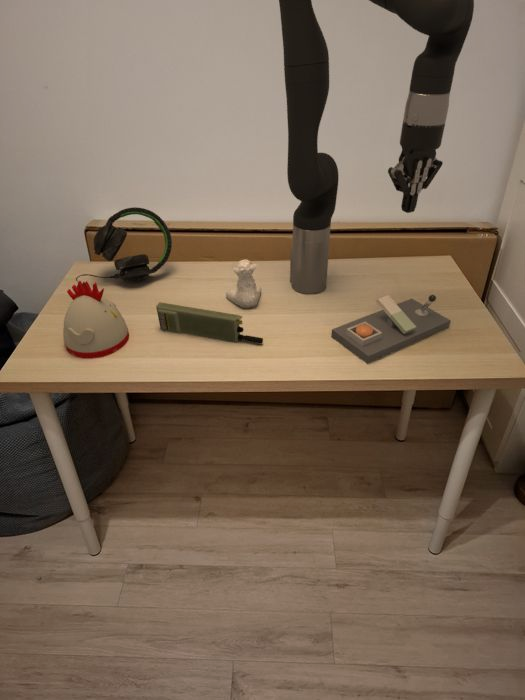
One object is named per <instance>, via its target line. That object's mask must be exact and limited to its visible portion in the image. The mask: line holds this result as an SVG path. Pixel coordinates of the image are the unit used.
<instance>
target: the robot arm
mask: <svg viewBox="0 0 525 700" xmlns="http://www.w3.org/2000/svg"><path fill="white" fill-rule="evenodd" d="M368 1H369V2H371V3H372V4H374V5H376V6H379V7H380V8H382V9H384V10H386V11H388V12H391V13H393V14H395V15H397V16H398V18H400V20H402V21H403V22H404V23H406V25H408V26H409V27H411V28H412V29H413V30H415V31H417V32H418V33H420V34H422V35H426V36H428V39H427V41H426V44H425V48H424V49H423V51H422V52H421V53H420V54H418V55H417V56H416V58H415V60H414V62H413V68H412V72H411V78H410V84H409V91H408V95H407V98H406V102H405V107H404V113H403V117H402V118H403V120H402V126H401V130H400V131H401V133H400V138H399V145H400V147H401V153H400V155H399V157H398V163H397V164H396V165H395V166H394V167H392V166H390V167H389V168H388V170H387V174H388V176H389V178H390V180H391V182H392V183H393V186H394V188H395V190H396V191H397V192H401V193H402V194H403V195H402V200H401V211H402V212H404V213H407V214H411V213H414V212H415V210H416V208H417V203H418V199H419V194H420V193H421V192H422V190H426V189H428V187H429V186H430V184H431V183H432V181H433V180H434V179H435V177H436V175H437V174H438V172H439V170H440V169H441V167H442V166H443V163H444V162H443V160H440V159H438V158H437V157H436V156H437V150H438V149H439V148H440V147H441V145H442V142H443V141H442V140H443V136H444V131H445V127H446V121H447V117H448V112H449V106H450V95H451V89H452V85H453V81H454V80H453V79H454V76H455V70H456V69H455V68H456V66H457V65H456V64H457V62H458V59H459V56H460V54H461V52H462V49H463V48H464V44H465V42H466V39H467V36H468V33H469V30H470V28H471V24H472V21H473V15H474V11H475V10H474V8H475V0H368ZM278 3H279V12H280V22H281V34H282V35H281V36H282V47H283V70H284V71H283V72H284V84H285V87H284V88H285V93H286V94H285V96H286V111H287V113H286V114H287V115H286V116H287V135H288V136H287V137H288V138H287V166H286V167H287V183H288V188H289V190H290V192H291V194H292V196H294V197H295V199H297V200H298V201H300V203H299V204H298V206H297V208H296V209H295V210H294V213H293V217H292V218H293V219H292V248H291V249H290V254H289V255H290V262H289V263H290V264H289V265H290V266H289V268H290V269H289V282H290V283H291V287H292V289H293V290H294V291H296V292H298V293H302V294H307V295H308V294H309V295H310V294H311V295H314V294H318V293H321V292H323V291H324V290H325V289H327V284H328V283H327V282H328V280H327V279H328V267H329V265H328V264H329V254H330V253H329V252H330V240H331V227H332V226H331V225H332V218H333V215H334V213H335V211H336V205H337V197H338V189H339V169H338V165H337V163H336V161H335V159H334V158H333V157H332V156H331V155H330V154H328V153H326V152H318V151H319V150H318V139H319V138H318V137H319V131H320V130H319V129H320V125H321V122H322V118H323V114H324V111H325V108H326V104H327V100H328V97H329V91H330V57H329V56H330V55H329V49H328V45H327V42H326V39H325V36H324V33H323V30H322V28H321V26H320V24H319V21H318V20H317V19H318V18H317V17H316V14H315V11H314V7H313V2H312V0H278Z"/></svg>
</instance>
